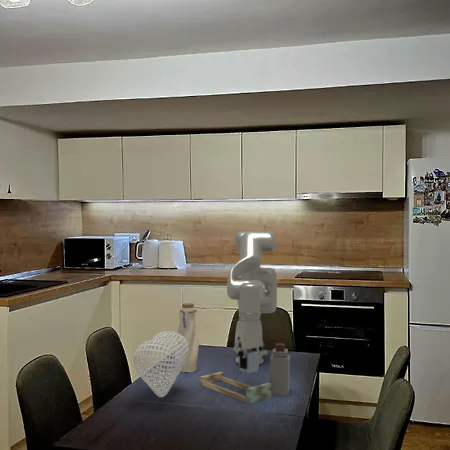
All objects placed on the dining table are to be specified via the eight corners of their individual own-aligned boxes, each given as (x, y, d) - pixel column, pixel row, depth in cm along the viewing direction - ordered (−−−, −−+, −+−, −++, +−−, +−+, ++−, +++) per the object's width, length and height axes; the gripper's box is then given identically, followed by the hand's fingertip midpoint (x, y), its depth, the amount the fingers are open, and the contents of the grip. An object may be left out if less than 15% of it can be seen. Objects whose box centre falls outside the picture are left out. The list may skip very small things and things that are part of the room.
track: (221, 379, 221) (221, 366, 220) (271, 397, 199) (271, 383, 199) (199, 384, 213) (199, 371, 213) (248, 403, 192) (249, 389, 192)
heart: (170, 412, 183) (170, 346, 183) (126, 408, 187) (127, 343, 186) (193, 386, 211) (193, 328, 210) (154, 383, 214) (155, 326, 213)
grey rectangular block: (249, 367, 203) (249, 349, 203) (258, 370, 200) (259, 351, 199) (239, 370, 200) (239, 351, 200) (248, 373, 196) (248, 353, 196)
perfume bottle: (287, 395, 201) (288, 346, 201) (269, 394, 202) (270, 345, 202) (289, 390, 208) (290, 342, 207) (271, 388, 209) (272, 341, 209)
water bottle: (197, 374, 227) (198, 306, 226) (175, 374, 227) (176, 306, 226) (199, 367, 237) (199, 302, 236) (178, 367, 237) (178, 302, 237)
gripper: (259, 313, 208) (258, 361, 208) (225, 318, 197) (224, 368, 197) (273, 316, 202) (272, 365, 203) (239, 321, 191) (238, 373, 191)
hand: (249, 366), depth 200 cm, fingers closed on grey rectangular block, 5 cm apart
